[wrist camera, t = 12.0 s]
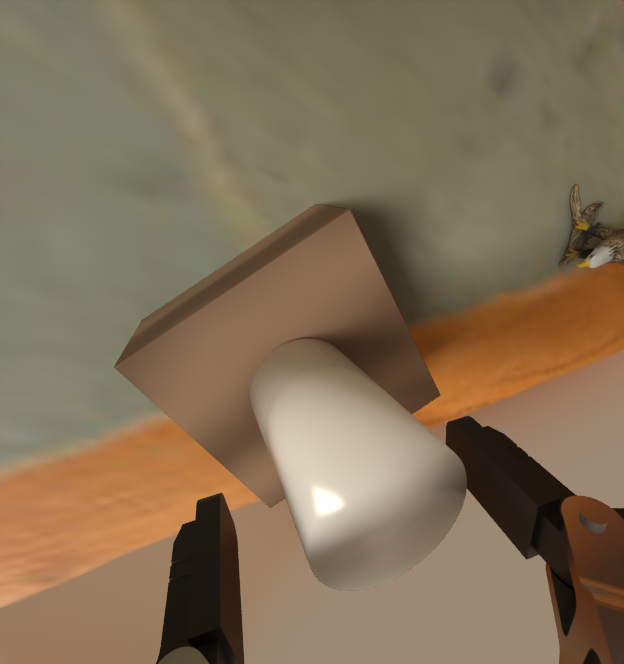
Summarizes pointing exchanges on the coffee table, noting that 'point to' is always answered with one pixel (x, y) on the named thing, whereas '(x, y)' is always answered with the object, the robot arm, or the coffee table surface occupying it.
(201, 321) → the walnut block
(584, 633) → the robot arm
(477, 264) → the coffee table surface
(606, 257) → the eagle figurine
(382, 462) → the ceramic capsule
